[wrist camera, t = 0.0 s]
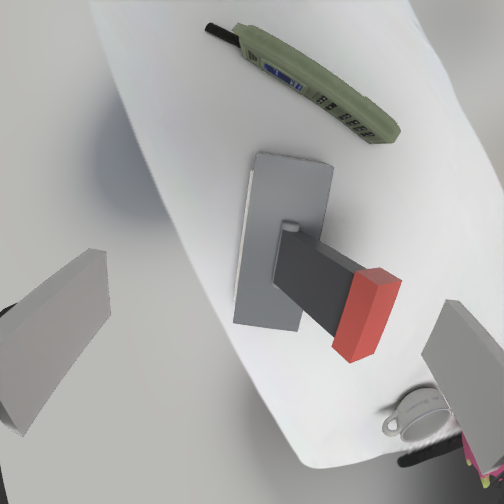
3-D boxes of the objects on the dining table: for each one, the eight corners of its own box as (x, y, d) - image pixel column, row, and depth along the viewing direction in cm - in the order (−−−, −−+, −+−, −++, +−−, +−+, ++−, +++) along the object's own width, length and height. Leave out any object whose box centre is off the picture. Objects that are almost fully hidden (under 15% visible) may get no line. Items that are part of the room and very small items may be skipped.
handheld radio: (368, 148, 34) (200, 40, 30) (382, 128, 33) (216, 21, 30) (389, 148, 28) (189, 20, 24) (405, 125, 27) (207, -1, 23)
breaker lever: (274, 221, 31) (378, 285, 20) (297, 221, 32) (402, 280, 21) (263, 283, 34) (349, 363, 22) (286, 280, 35) (373, 353, 23)
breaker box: (254, 151, 35) (252, 153, 30) (323, 162, 35) (333, 166, 30) (234, 298, 42) (229, 322, 37) (294, 307, 42) (297, 331, 37)
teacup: (446, 378, 47) (461, 405, 40) (425, 413, 51) (436, 440, 43) (388, 383, 47) (400, 414, 40) (369, 419, 51) (377, 449, 44)
